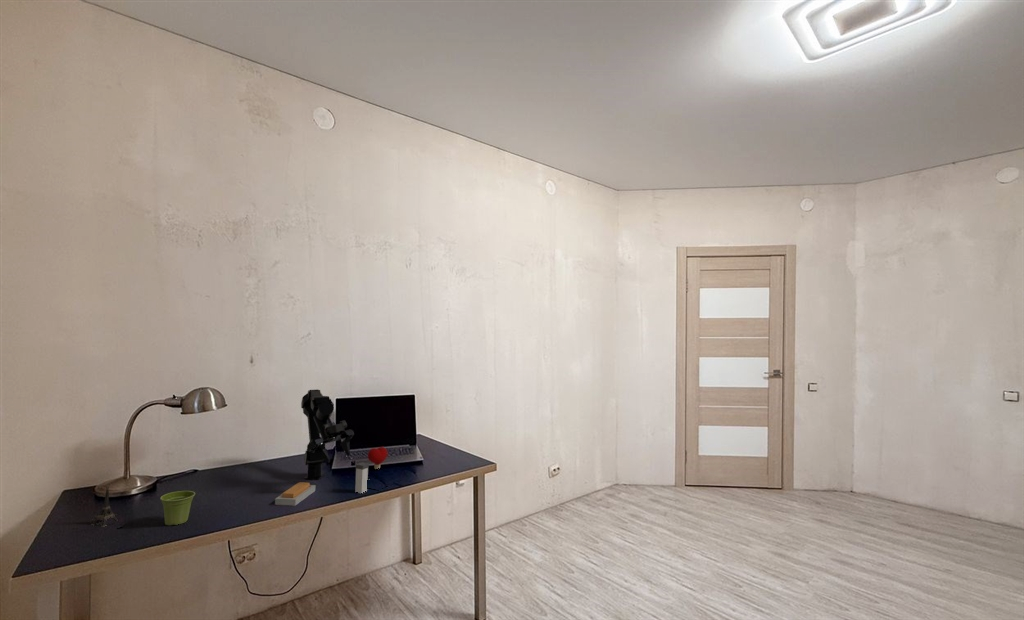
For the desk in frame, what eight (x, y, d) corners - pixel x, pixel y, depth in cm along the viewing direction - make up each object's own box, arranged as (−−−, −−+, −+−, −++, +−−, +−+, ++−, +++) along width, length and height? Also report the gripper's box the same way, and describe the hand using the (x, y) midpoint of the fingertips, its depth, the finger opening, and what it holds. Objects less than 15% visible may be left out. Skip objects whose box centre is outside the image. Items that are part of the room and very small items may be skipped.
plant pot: (181, 514, 162) (183, 488, 162) (200, 519, 158) (201, 493, 158) (152, 524, 153) (153, 497, 153) (170, 530, 149) (172, 502, 150)
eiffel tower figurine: (123, 529, 150) (126, 487, 150) (81, 536, 144) (84, 492, 145) (130, 513, 162) (132, 474, 163) (91, 519, 157) (93, 478, 157)
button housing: (296, 489, 189) (296, 484, 189) (315, 490, 188) (315, 485, 188) (274, 504, 173) (275, 498, 173) (295, 505, 172) (295, 499, 172)
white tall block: (354, 492, 188) (355, 464, 188) (360, 489, 191) (361, 462, 191) (361, 493, 186) (362, 465, 187) (367, 491, 189) (368, 463, 190)
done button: (298, 486, 187) (299, 482, 187) (309, 487, 187) (309, 482, 187) (282, 498, 174) (282, 493, 174) (293, 498, 174) (293, 493, 174)
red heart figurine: (382, 466, 224) (383, 444, 224) (390, 469, 218) (390, 447, 219) (364, 469, 217) (365, 447, 218) (371, 473, 212) (372, 451, 212)
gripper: (313, 419, 183) (328, 455, 178) (353, 410, 199) (368, 443, 194) (300, 433, 188) (314, 469, 183) (340, 423, 204) (354, 456, 199)
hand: (339, 458), depth 189 cm, fingers open, 9 cm apart
